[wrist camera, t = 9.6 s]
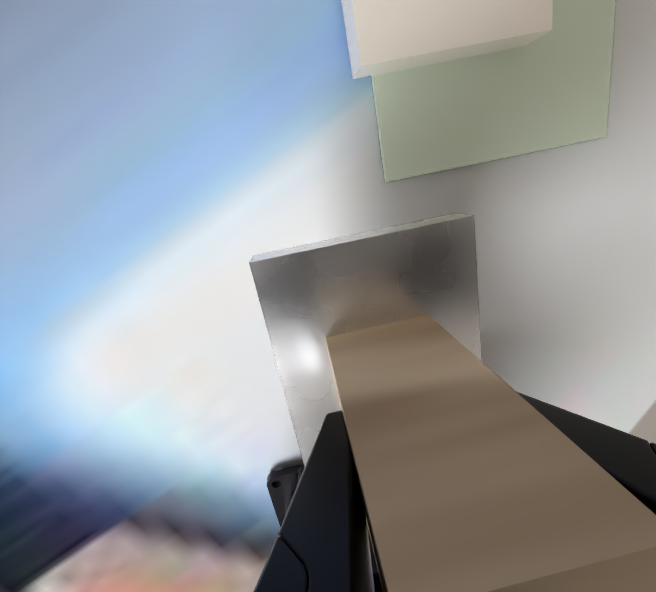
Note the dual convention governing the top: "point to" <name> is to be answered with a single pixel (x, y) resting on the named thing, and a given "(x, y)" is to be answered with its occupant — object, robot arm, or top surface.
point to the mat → (500, 98)
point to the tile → (437, 30)
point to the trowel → (441, 422)
